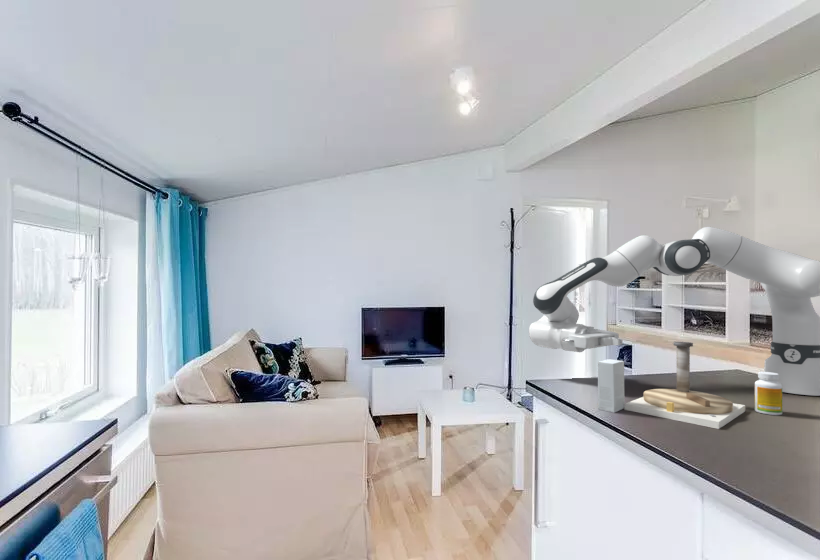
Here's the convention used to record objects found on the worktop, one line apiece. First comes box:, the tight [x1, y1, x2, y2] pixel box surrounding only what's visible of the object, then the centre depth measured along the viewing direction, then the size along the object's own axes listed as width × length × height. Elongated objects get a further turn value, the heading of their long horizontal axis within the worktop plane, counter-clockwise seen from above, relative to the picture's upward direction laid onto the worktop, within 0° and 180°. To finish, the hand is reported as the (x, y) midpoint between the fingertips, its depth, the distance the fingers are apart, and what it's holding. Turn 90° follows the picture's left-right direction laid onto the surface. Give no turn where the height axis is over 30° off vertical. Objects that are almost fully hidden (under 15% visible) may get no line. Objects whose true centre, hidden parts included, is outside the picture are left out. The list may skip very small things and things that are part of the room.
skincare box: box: [597, 358, 625, 413], centre depth 114 cm, size 6×4×12 cm
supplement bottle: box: [754, 371, 783, 416], centre depth 112 cm, size 5×5×10 cm
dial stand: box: [624, 396, 746, 430], centre depth 113 cm, size 22×20×4 cm
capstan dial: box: [643, 341, 734, 414], centre depth 114 cm, size 19×19×14 cm
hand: (620, 342), depth 134 cm, fingers closed
